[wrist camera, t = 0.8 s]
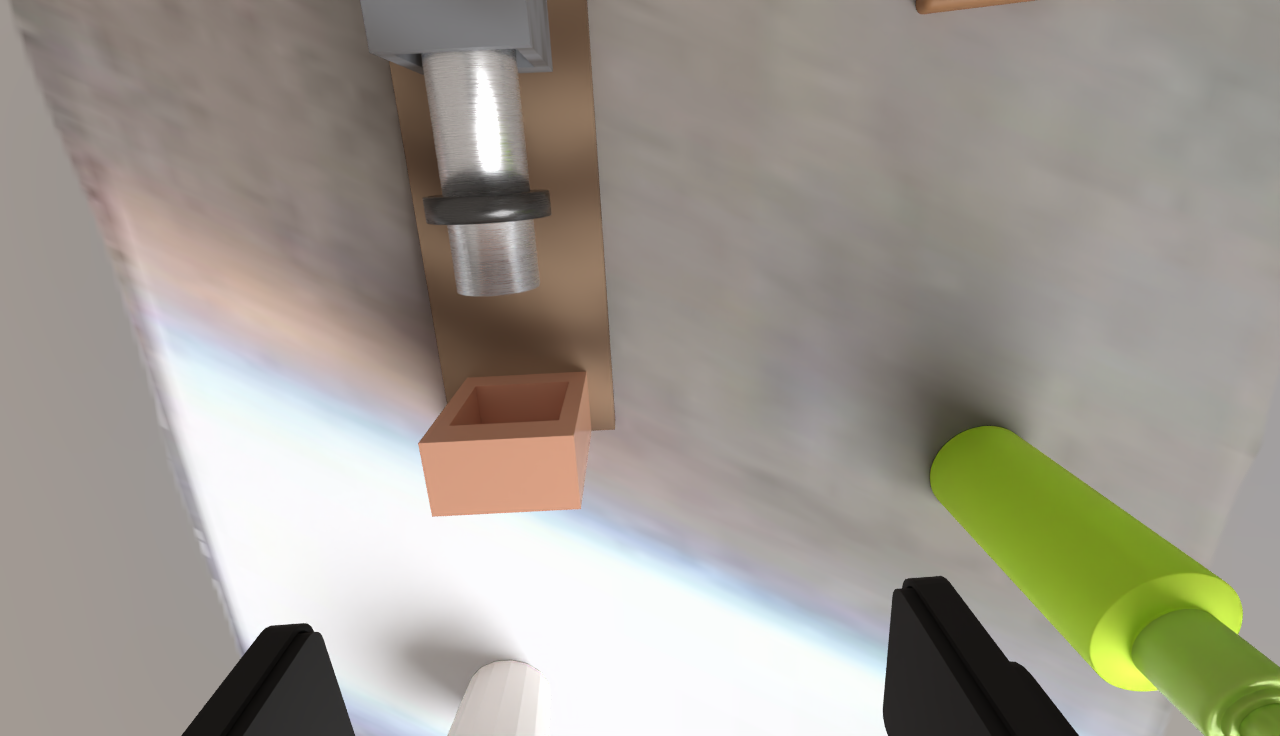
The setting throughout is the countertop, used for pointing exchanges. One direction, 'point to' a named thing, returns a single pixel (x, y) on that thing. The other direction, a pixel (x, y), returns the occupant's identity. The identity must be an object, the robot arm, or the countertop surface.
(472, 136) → the steel tube
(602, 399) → the stand
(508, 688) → the white cup
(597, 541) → the countertop surface
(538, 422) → the socket block
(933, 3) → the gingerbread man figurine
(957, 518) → the soap dispenser
